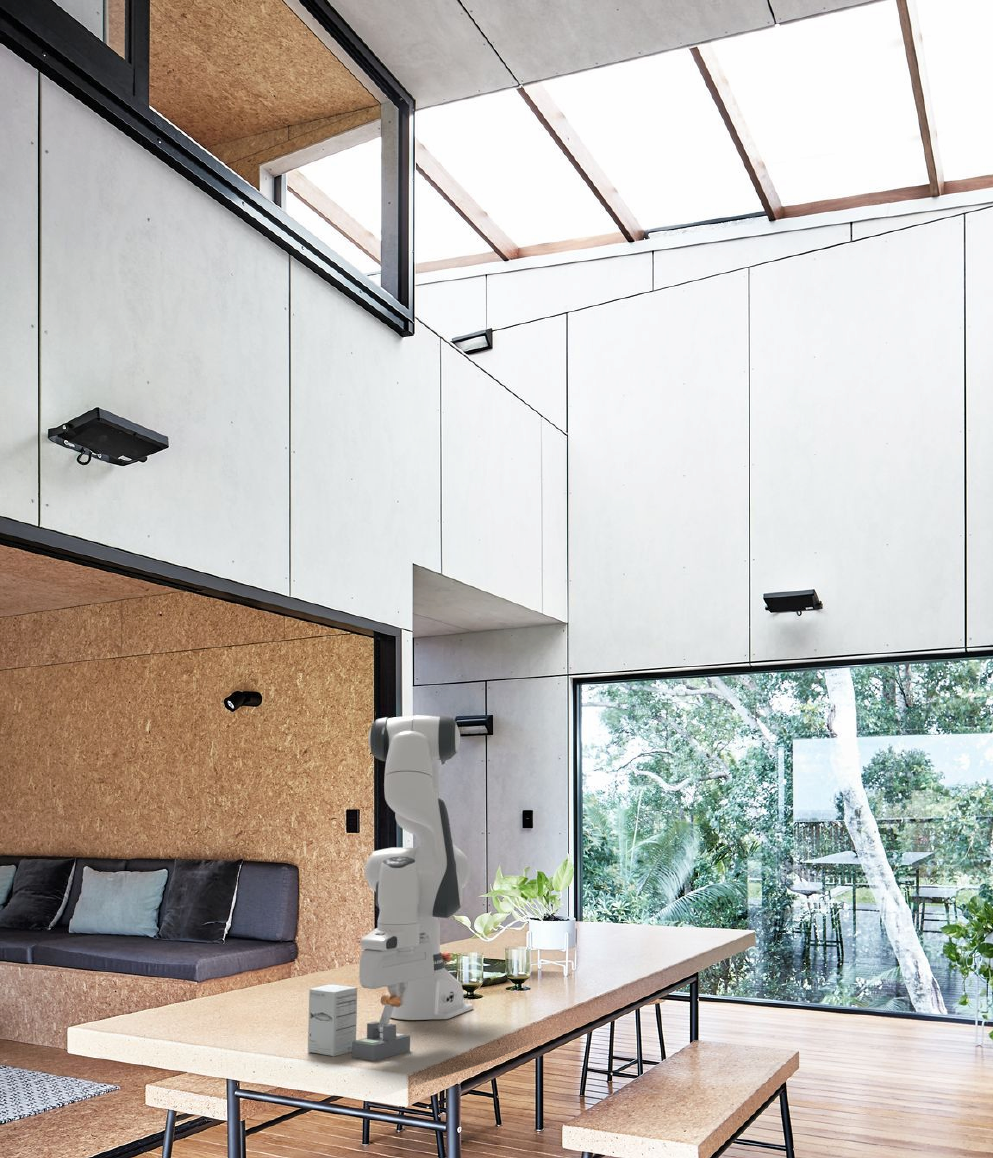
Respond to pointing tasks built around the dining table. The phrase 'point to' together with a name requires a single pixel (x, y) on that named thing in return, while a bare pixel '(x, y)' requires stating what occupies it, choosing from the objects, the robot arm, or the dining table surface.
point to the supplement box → (332, 1019)
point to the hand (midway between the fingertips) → (397, 1005)
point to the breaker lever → (387, 1010)
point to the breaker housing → (380, 1043)
